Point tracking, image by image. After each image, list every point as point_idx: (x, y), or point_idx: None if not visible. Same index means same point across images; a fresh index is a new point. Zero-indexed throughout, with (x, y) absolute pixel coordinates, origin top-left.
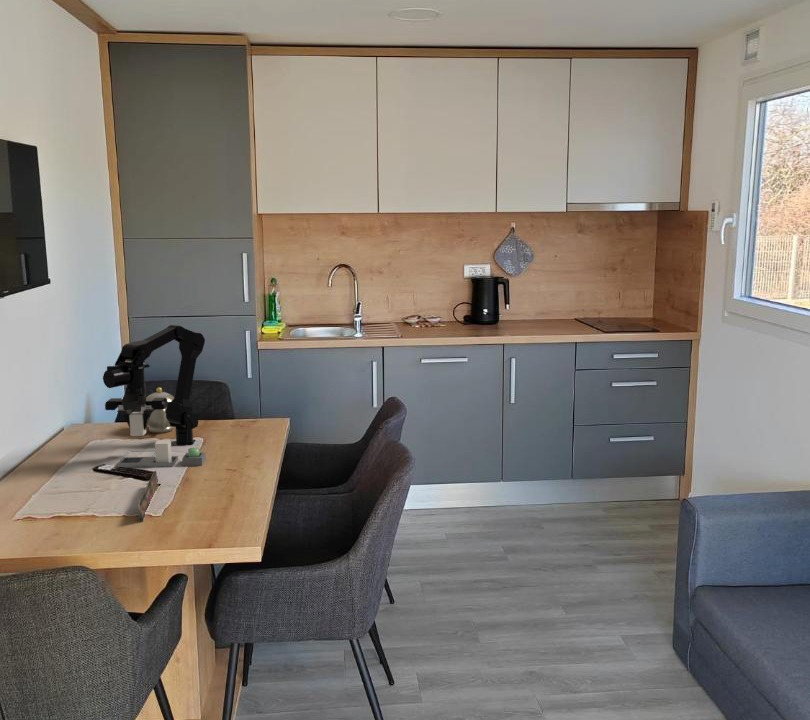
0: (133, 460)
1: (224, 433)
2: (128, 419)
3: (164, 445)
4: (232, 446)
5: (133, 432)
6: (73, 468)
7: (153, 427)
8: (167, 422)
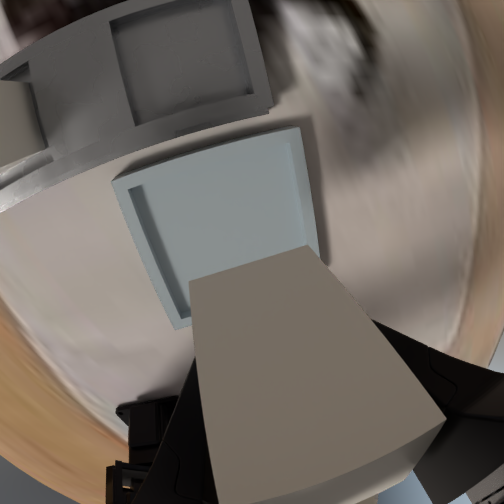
0: (198, 106)
1: None
2: (417, 369)
3: None
4: (12, 411)
5: (290, 271)
6: (439, 41)
7: None
8: None
